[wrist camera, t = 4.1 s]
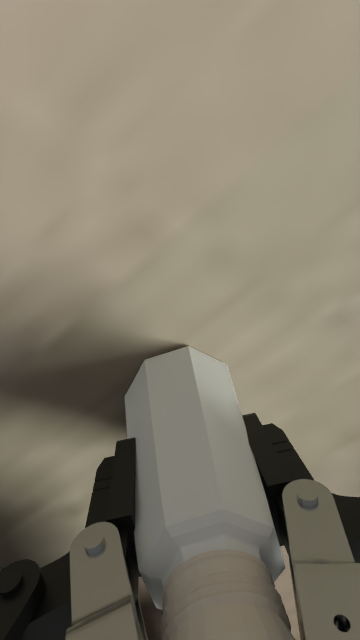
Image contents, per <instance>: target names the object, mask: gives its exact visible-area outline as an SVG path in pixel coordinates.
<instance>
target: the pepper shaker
mask: <svg viewBox="0 0 360 640" xmlns="http://www.w3.org/2000/svg"><path fill="white" fill-rule="evenodd" d="M125 410H126V424H127V439H130V438H136V462H135V530H134V537H135V547H136V554H137V562H138V570H139V572H140V574H141V576H142V578H143V580H144V583H145V585H146V587H147V589H148V591H149V593H150V595H151V598H152V600H153V602H154V604H155V606H156V608H157V609H160V610H163V615H162V618H161V640H295V639H294V637H293V636H292V634H291V625H290V622H289V619H288V616H287V614H286V611H285V608H284V605H283V603H282V600H281V596H280V594H279V593H278V592H277V590H276V589H275V585H274V582H275V580H276V579H277V578H278V577H279V575H280V574H281V573H282V571H283V570H284V569H285V566H284V561H283V556H282V552H281V549H280V545H279V541H278V538H277V534H276V531H275V527H274V524H273V520H272V516H271V513H270V509H269V505H268V502H267V498H266V495H265V491H264V488H263V485H262V481H261V478H260V474H259V471H258V468H257V464H256V461H255V458H254V455H253V453H252V450H251V448H250V445H249V442H248V437H247V432H246V427H245V424H244V420H243V417H242V413H241V410H240V407H239V403H238V400H237V396H236V393H235V390H234V386H233V383H232V379H231V376H230V373H229V369H228V366H227V364H225V363H223V362H221V361H219V360H216V359H214V358H212V357H210V356H208V355H206V354H204V353H202V352H200V351H198V350H196V349H193V348H191V347H189V346H187V347H184V348H180V349H177V350H174V351H171V352H168V353H165V354H161V355H158V356H155V357H152V358H149V359H145V360H144V362H143V364H142V365H141V367H140V369H139V371H138V373H137V375H136V377H135V378H134V380H133V382H132V384H131V386H130V388H129V389H128V391H127V393H126V395H125Z"/></svg>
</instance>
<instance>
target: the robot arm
mask: <svg viewBox="0 0 360 640" xmlns="http://www.w3.org/2000/svg"><path fill="white" fill-rule="evenodd" d="M242 417H243V420H244V424H245V427H246V432H247V437H248V442H249V445H250V448H251V450H252V453H253V455H254V458H255V461H256V464H257V468H258V471H259V474H260V478H261V481H262V485H263V488H264V491H265V495H266V498H267V502H268V505H269V509H270V513H271V516H272V520H273V524H274V527H275V531H276V534H277V538H278V541H279V545H280V546H283V545H284V546H285V548H286V550H287V553H288V555H289V563H290V571H291V577H292V584H293V591H294V598H295V604H296V611H297V618H298V625H299V631H300V638H301V640H360V497H346V496H340V495H336V494H333V493H331V492H330V490H329V489H328V488H327V487H325V486H324V485H323V484H321V483H319V482H317V481H314V479H313V478H312V476H311V474H310V473H309V471H308V470H307V468H306V466H305V465H304V463H303V462H302V460H301V459H300V457H299V455H298V454H297V452H296V451H295V450H294V448H293V446H292V444H291V443H290V442H289V440H288V438H287V436H286V435H285V433H284V432H283V430H281V429H280V428H278V427H277V426H275V425H274V424H272V423H271V424H267V425H262V424H261V422H260V421H259V419H258V417H257V415H256V414H255V413H252V414H247V415H242ZM135 462H136V438H130V439H125V440H120V441H117V443H116V450H115V456H112V457H107V458H104V460H103V461H102V463H101V464H100V466H99V467H98V469H97V472H96V477H95V483H94V487H93V493H92V497H91V502H90V507H89V512H88V517H87V521H86V526H85V529H84V530H82V531H81V532H80V533H79V534H78V535H77V537H76V538H75V539H74V541H73V543H72V545H71V548H70V552H69V553H67V554H66V555H65V556H63V557H61V558H60V559H58V560H56V561H54V562H52V563H50V564H48V565H46V566H44V567H42V568H40V569H39V566H38V564H37V563H36V562H34V561H32V560H20V561H17V562H14V563H12V564H10V565H9V566H7V567H6V568H4V569H3V570H2V571H0V640H148V638H147V634H146V629H145V624H144V620H143V615H142V611H141V606H140V602H139V598H138V577H141V574H140V572H139V570H138V562H137V554H136V547H135V537H134V530H135Z"/></svg>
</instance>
